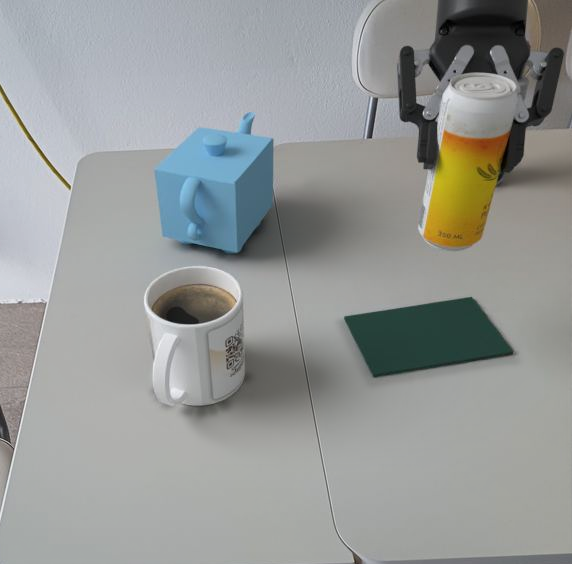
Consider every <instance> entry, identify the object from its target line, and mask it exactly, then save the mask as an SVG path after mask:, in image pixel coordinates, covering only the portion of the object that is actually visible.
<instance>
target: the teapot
mask: <svg viewBox="0 0 572 564" xmlns="http://www.w3.org/2000/svg"><path fill="white" fill-rule="evenodd" d="M255 117H256V113H255V112H253V111H250V112H247V113H245V114H244V115H243V116H242V118H241V119H240V122H239V126H238V128H237V131H236V132H235V131H229V130H222V129H214V128H208V127H201V126H199V127H197V128H196V129H195V130H194V131H193V132H192V133H191V134H190V135H188V136H187V137H186V138H185V139H184V140H183V141H182V142H181V143H180V144H179V145H177V147H176V148H175V149H174V150H172V152H170V153H169V154H168V155H167V156H166V157H165V158H164V159H163V160H162V161H161V162H160V163H159V164H158V165H157V166H156V167H155V169H153V170H154V178H155V187H156V194H157V202H158V210H159V219H160V225H161V233H162V237H163V238H168V239H171V240H172V239H173V240H176V241H179V242H180V243H181V244H184V245H190V244H196V245H200V246H205V247H209V248H212V249H213V248H214V249H218V250H221V251H223V252H224V253H227V254H237V253H239V252H241V251H242V250H243V247H244V244H245V243H246V242H247V240H248V239H249V238H250V236H251V235H252V233H254V231H255V230H256V228H258V227H259V226H260V225H261V221H262V220H263V219H264V217H265V216H266V215H267V213H268V212H269V210H270V209H271V208H272V206H273V205H274V144H275V143H274V142H275V141H274V140H275V139H274V138H273V137H268V136H261V135H255V134H252V128H253V123H254V120H255Z"/></svg>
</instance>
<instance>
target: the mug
mask: <svg viewBox="0 0 572 564" xmlns="http://www.w3.org/2000/svg"><path fill="white" fill-rule="evenodd" d="M143 306H144V312H145V313H144V314H145V318H146V325H147V331H148V336H149V342H150V348H151V354H152V360H153V361H152V362H153V365H152V386H153V391H154V394H155V396H156V399H157V400H158V402H160V403H162V404H165V405H167V406H171V407H177V406H179V405H181V404H182V405H186V406H194V407H197V406H198V407H200V406H209V405H213V404H217V403H220V402H222V401H224V400H226V399H228V398H230V397H232V395H234V394H235V393H236V392H237V391H238V390H239V388H241V386H242V384H243V382H244V380H245V377H246V355H245V354H246V353H245V349H246V348H245V322H244V321H245V320H244V319H245V318H244V317H245V316H244V293H243V288H242V285H241V284H240V281H238V279H237V278H236V277H234V276H233V275H232V274H231V273H228V272H227V271H225V270H222V269H220V268H216V267H214V266H213V267H212V266H206V265H190V266H188V265H187V266H182V267H178V268H175V269H172V270H169V271H167V272H164V273H162V274H161V275H158V277H157V278H155V279H153V281H152V282H151V283H150V284H149V285H148V286H147V288H146V290H145V292H144V296H143Z"/></svg>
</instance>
